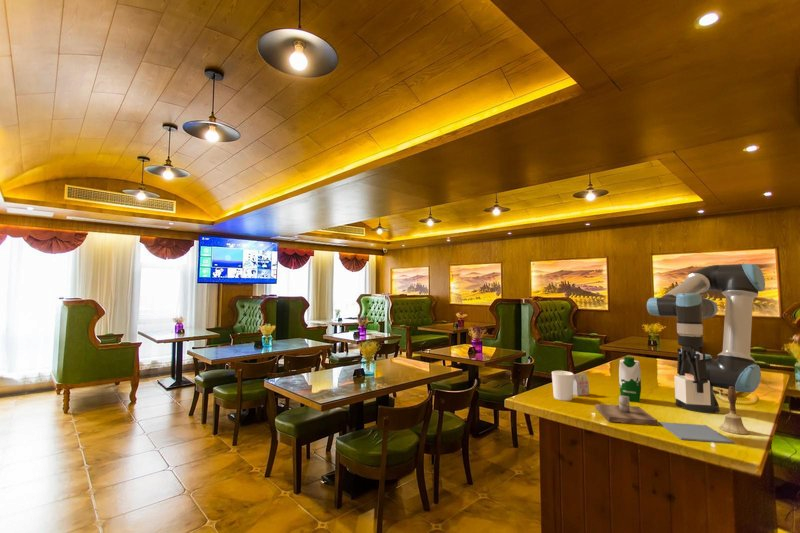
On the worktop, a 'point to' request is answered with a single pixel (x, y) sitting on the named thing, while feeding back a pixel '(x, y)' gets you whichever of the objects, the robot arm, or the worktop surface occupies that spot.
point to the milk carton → (630, 378)
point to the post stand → (625, 413)
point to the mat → (695, 432)
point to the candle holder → (562, 385)
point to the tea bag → (580, 385)
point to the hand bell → (733, 416)
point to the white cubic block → (690, 390)
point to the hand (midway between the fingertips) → (692, 398)
